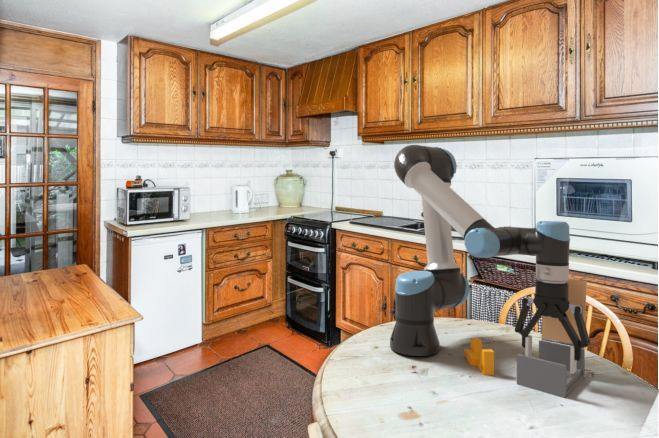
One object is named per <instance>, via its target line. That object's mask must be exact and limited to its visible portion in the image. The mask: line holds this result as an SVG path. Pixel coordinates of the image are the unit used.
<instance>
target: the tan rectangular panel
mask: <svg viewBox="0 0 659 438" xmlns="http://www.w3.org/2000/svg"><path fill="white" fill-rule="evenodd" d="M566 282H567V283H568V284H569V289H568V300H569V303H570V304H572V305H577V306H578V305H582V307H583V311H582V316H583V319H584V322H585V323H586V310H587V287H588V285H587V284H588V283H587V282H588V280H583V279H573V278H569V280H568V281H566ZM566 314H567V316H568V319H569V321H570V323H571V324H572V326H573V328H574V330H575V332H576V333H577V335H578V337H579V339H580V340H581V338H580V335H579V331H578V328H577V325H576V321H575V318H574V314H573V313H572V311H571V309H568V310H567V311H566ZM541 318H542V320H541V321H542V322H541V339H540V340H542V341H547V342H552V343H557V344H562V345H567V346H573V343H572V341H571V340H570V338H569V336H568V334H567V332H566V331H565V329H564V327H563V325H562V323H561V322H560V321H559V319H558V318H552V317H550V316H548V317H546V316H542V317H541ZM582 349H585V347H582Z"/></svg>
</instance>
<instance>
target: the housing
mask: <svg viewBox="0 0 659 438" xmlns="http://www.w3.org/2000/svg"><path fill="white" fill-rule="evenodd" d="M570 348H571V346H569V345H564V344H559V343H554V342H549V341H544V340H541V339H539V340H538V358H537V357H533V356H532V357H530V356H526V355H525V354H521V353H518V354H516V385H519V386H521V387H525V388H529V389H533V390H535V391H539V392H544V393H547V394H551V395H554V396H557V397H561V398H567V397H568V395H569V394H570V393H572V391H573V390H574V389H575V388H576V387H577V386H578V385H579V384H580V383H581V382H582V381H583V380H584V379H585V373H586V372H585V371H586V367H585V361H586V360H585V359H586V357H585V355H586V351H585V348H582V350H581V359H580V360H579V361H577V368H576V372H575V373H574V374H571V373H570Z"/></svg>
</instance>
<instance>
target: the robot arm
mask: <svg viewBox="0 0 659 438" xmlns="http://www.w3.org/2000/svg"><path fill="white" fill-rule="evenodd" d="M393 164H394V166H393V167H394V172H395V173H396V176H397V177H398V179H399V181H401V182H402V183H403V185H405V186H406V187H407V188H409V189H414V190H415V192H417V193H418V195H420V196H421V206H422V216H423V217H422V218H423V225H424V226H423V227H424V235H425V238H424V239H425V245H426V246H425V248H426V258H427V264H426V266H424V268H423V270H415V271H414V270H411V271H406V272H402V273H401V274H398V276H397V277H396V279H395V287H394V293H395V294H394V295H395V323H394V326H393V329H392V332H391V335H390V339H389V347H390V349H391V350H392V351H393V352H395V353H397V354H398V353H399V354H402V355H406V356H413V357H414V356H417V357H424V356H433V355H436V354H437V353H439V352H440V349H441V348H440V345H441V343H440V340H439V336H438V334H437V331H436V328H435V323H434V322H435V320H434V319H435V312H436V311H437V312H438V311H441V310H447V309H453V308H456V307H458V306H461V305H462V304H464V303H465V301H466V300H467V299H468V296H469V294H470V285H469V284H470V283H469V281H468V278H467V277H465V275H464V273H462V272H461V266H460V265H459V264H457V262H456V260H455V255H454V254H455V253H454V245H453V244H454V243H453V234H452V228H453V229H454V230H455V231H456V232H457V233H458V234H459V235H460V236H461V237H462V238H463V240H464V242H463V243H464V246H465V251H466V252H467V253H468V254H469V255H471V256H472V257H474V258H483V259H484V258H485V259H489V258H493V257H501V256H502V257H503V256H512V255H514V256H515V255H520V256H531V257H535V278H536V279H537V280H536V281H535V285H534V286H535V287H534V288H535V289H534V291H535V292H534V293H535V294H534V295H535V296H534V297H533V298H531V297H529V296H526V297H523V298H522V299H521V303H522V304H521V305H522V307H521V309H520V313H519V315H518V318H517V321H516V325H515V328H514V332H515V333H518V334H520V336H521V347H522V348H524V351H525V352H524V353H525V354H524V355H526V356H530V357H533V336H532V335H530V334H531V332H532V330H533V329H534V328H535V326H536V325H537V324H538V322H539V321H540V319H541V318H542V317H543V316H546V317H548V316H550V317H552V318H558V319H559V321H560V322H561V323H562V325H563V327H564V329H565V331H566V332H567V334H568V336H569V338H570V340H571V341H572V343H573V346H571V348H570V373H571V374H574V373H575V372H576V368H577V361H579V360H580V359H581V350H582V349H583V348H582V347H584V348H587V347H589V346H590V345H591V340H590V336H589V333H588V330H587V326H586V321H585V322H584V319H583V316H582V311H583V307H582V305H578V306H577V305H572V304H570V303H569V300H568V289H569V284H568V283H567V282H566V281H568V280H569V279H570V278H569V277H570V271H569V270H570V242H571V238H570V224H568V223H567V222H566V221H561V220H560V221H559V220H558V221H557V220H556V221H555V220H551V221H550V220H539V221H538V222H536V225H535V227H518V226H517V227H516V226H498V227H495V226H493V224H491V223H490V222H489V221H487V220H486V219H485V218H484V217H483V216H482V215H481V214H480V213H479V212H478V211H477V210H476V209H474V208H473V207H472V206H471V205H470V204H469V203H468V202H466V201H465V199H463V198H462V196H461V195H459V194H458V193H457V192H456V191H454V189H452V188H451V186H452V179H454V177H455V174H456V172H457V168H458V167H457V161H456V158H455V156H454V154H453V153H452V152H450V151H449V150H448V149H445V148H441V147H437V146H435V147H434V146H428V145H427V146H426V145H420V144H410V145H406V146H405V147H402V148H401V149H400V150H399V151H398V152H397V154H396V156H395V158H394V162H393ZM533 305H534V306H535V307H536V309H537V310H536V312H535V313H534V314H533V316H532V317H531V319H530V320H529V322H527V325H526V326H525V324H526V323H525V322H526V320H527V316H528V314H529V312H530V308H531V306H533ZM568 309H571V311H572V313H573V314H574V318H575V321H576V325H577V328H578V331H579V335H580V338H581V340H580V339H579V337H578V335H577V333H576V332H575V330H574V328H573V326H572V324H571V323H570V321H569V319H568V316H567V314H566V311H567V310H568ZM524 326H525V327H524Z"/></svg>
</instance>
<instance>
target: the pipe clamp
mask: <svg viewBox="0 0 659 438" xmlns="http://www.w3.org/2000/svg"><path fill="white" fill-rule="evenodd" d="M464 357H465V358H466V360H467V362H468V364H469V365H470V366H471V367H478V369H479V370H480V372H481V373H482V374H483V375H484V376H495V351H494V350H493V349H491V348H488V349H487V348H486V349H483V344H482V339H481V338H480V337H470V348H464Z"/></svg>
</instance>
